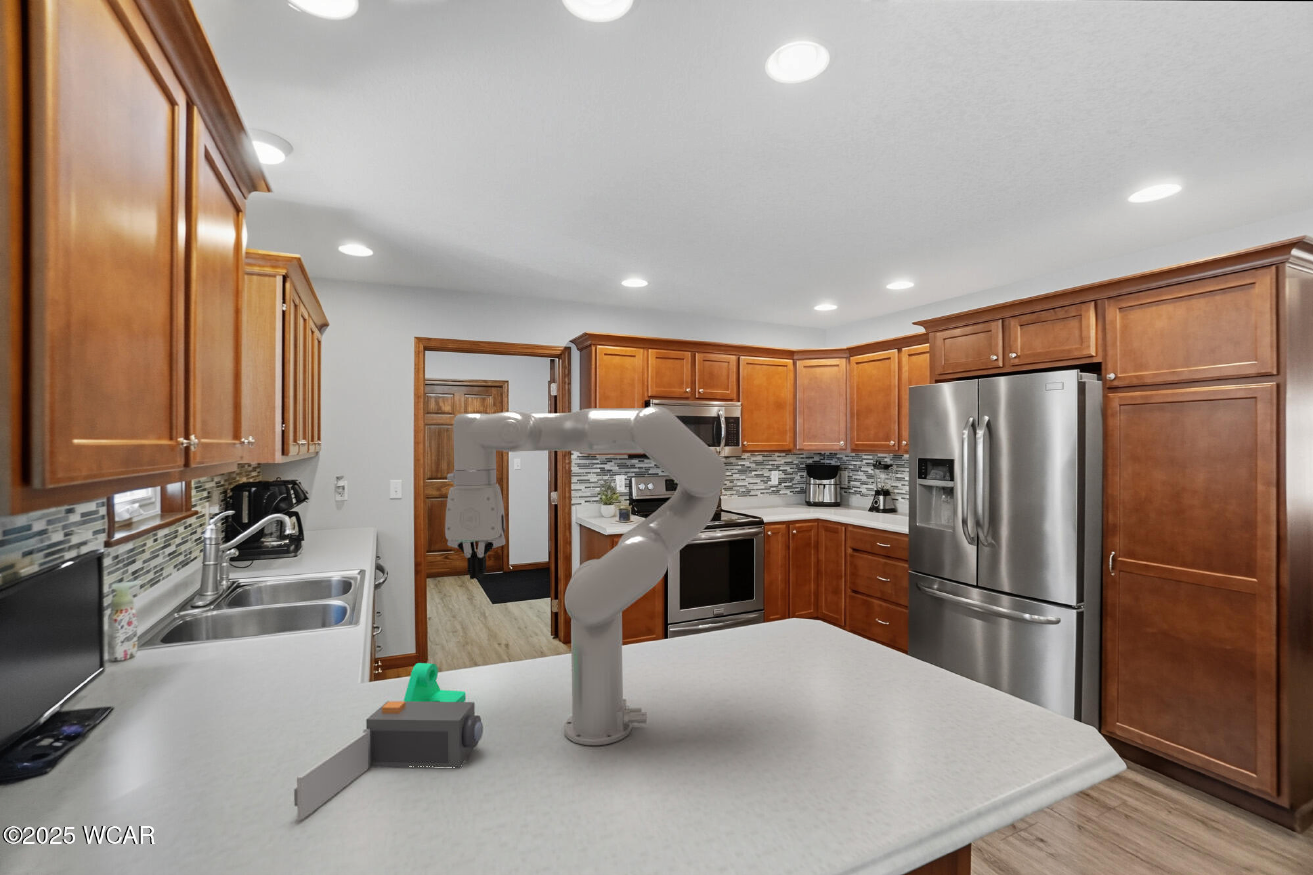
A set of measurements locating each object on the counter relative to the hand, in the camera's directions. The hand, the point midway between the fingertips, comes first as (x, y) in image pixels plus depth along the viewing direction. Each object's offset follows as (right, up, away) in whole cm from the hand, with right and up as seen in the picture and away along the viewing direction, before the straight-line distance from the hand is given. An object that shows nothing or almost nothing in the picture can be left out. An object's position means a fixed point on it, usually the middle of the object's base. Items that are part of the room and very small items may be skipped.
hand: (477, 577), depth 112 cm
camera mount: (-11, -30, +8) cm, 33 cm away
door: (-16, -29, -19) cm, 38 cm away
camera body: (-6, -29, -8) cm, 31 cm away
